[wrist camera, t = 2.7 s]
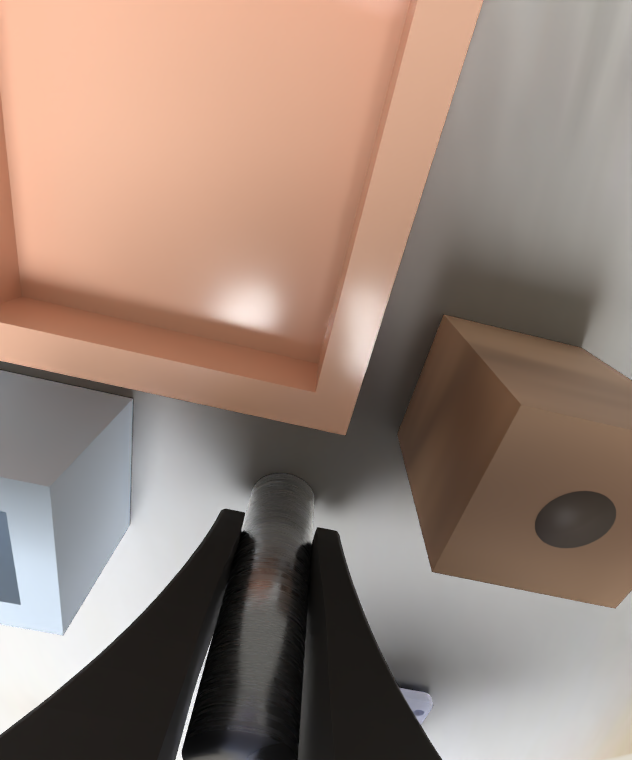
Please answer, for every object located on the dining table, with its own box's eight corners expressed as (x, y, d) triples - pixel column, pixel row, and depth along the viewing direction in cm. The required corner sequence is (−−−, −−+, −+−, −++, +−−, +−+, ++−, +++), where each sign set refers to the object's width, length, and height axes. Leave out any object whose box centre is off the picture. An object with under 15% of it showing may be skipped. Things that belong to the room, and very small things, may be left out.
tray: (343, 394, 12) (345, 435, 10) (1, 317, 11) (-70, 345, 9) (477, -59, 8) (529, -146, 6) (-69, -224, 7) (-231, -391, 5)
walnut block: (516, 459, 13) (615, 609, 8) (396, 433, 12) (431, 572, 8) (580, 347, 11) (750, 457, 7) (443, 313, 11) (521, 405, 6)
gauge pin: (307, 527, 14) (285, 793, 8) (246, 514, 14) (177, 776, 8) (320, 480, 13) (308, 742, 7) (256, 467, 13) (186, 721, 7)
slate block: (129, 525, 15) (63, 635, 11) (-24, 495, 14) (-143, 598, 11) (132, 398, 12) (49, 486, 9) (-51, 359, 12) (-217, 433, 8)
